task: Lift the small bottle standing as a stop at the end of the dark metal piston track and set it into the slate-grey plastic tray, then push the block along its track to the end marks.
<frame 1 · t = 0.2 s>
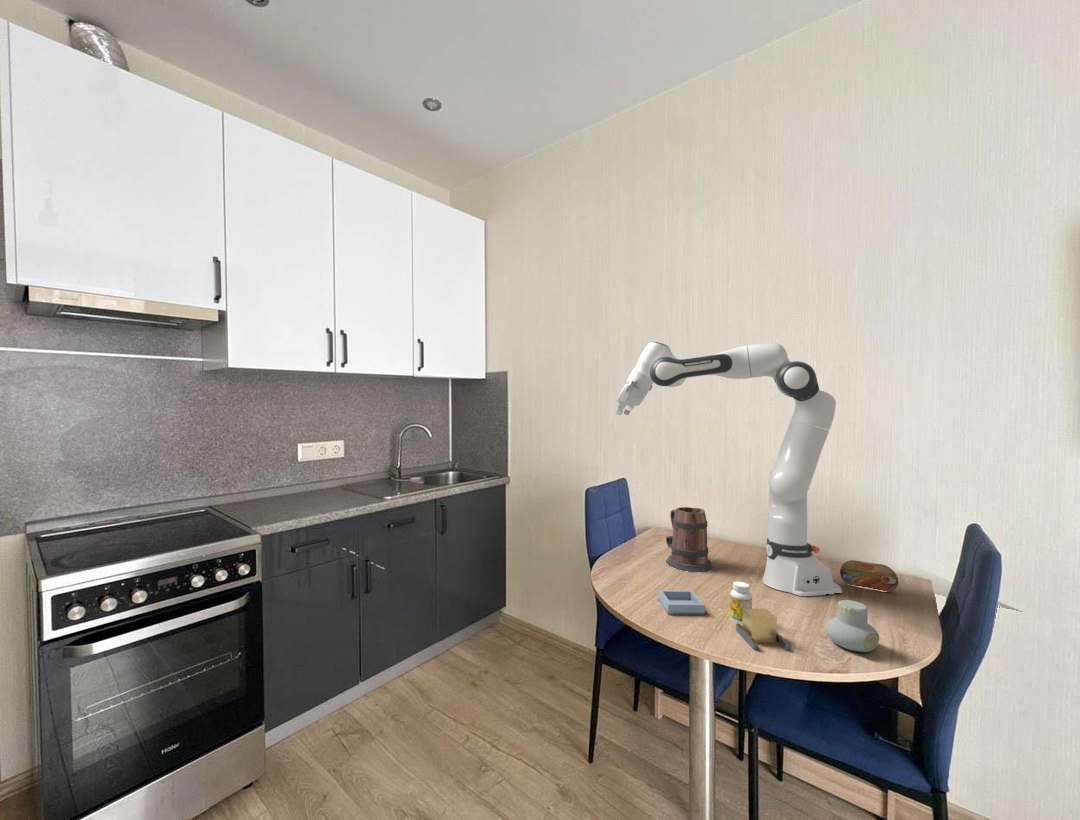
hand: (622, 414, 174), 54 cm above the table, tool tilted 30°, fingers open, 8 cm apart
air freshener: (851, 646, 110), on the table
tin: (867, 589, 146), on the table
tray: (680, 607, 130), on the table
block: (759, 625, 113), point 3 cm above the table, slide at 0.0 cm
tankard: (684, 561, 170), on the table
supplement bottle: (740, 620, 123), on the table
piston track: (758, 638, 113), on the table
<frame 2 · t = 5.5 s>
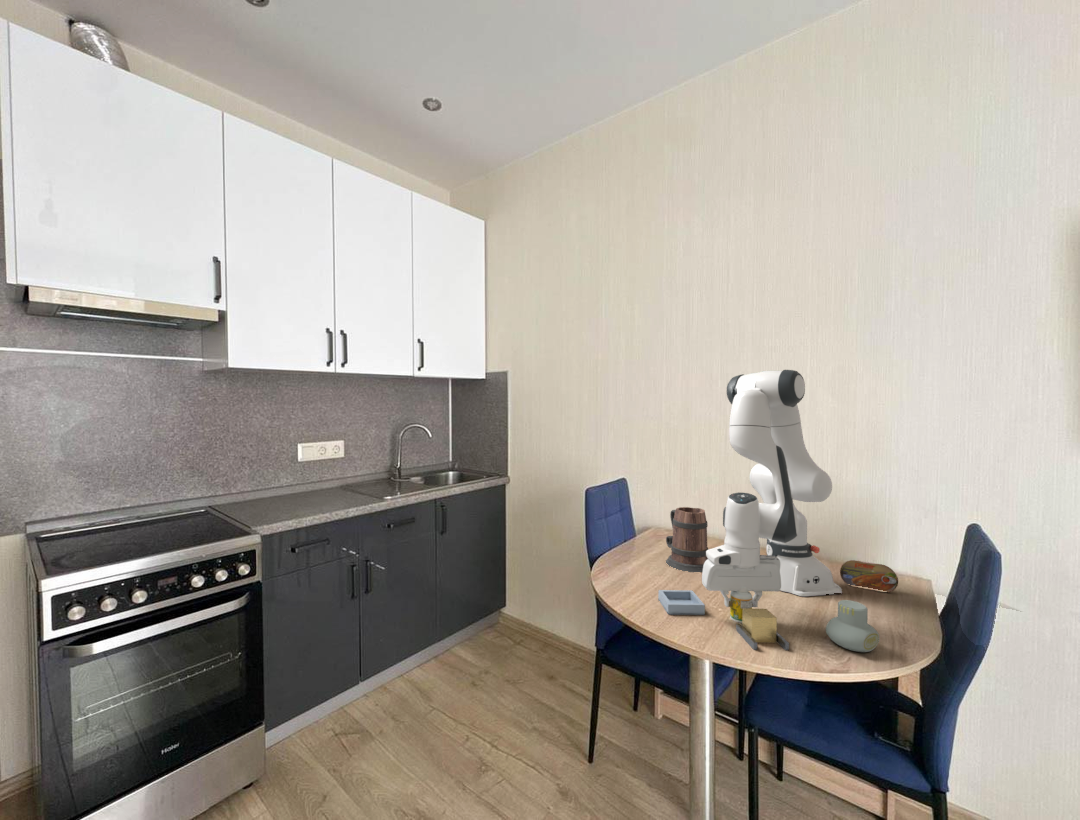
hand: (740, 606, 123), 4 cm above the table, tool pointing down, fingers closed on supplement bottle, 5 cm apart
supplement bottle: (740, 620, 123), on the table, touching gripper
everything else where it was.
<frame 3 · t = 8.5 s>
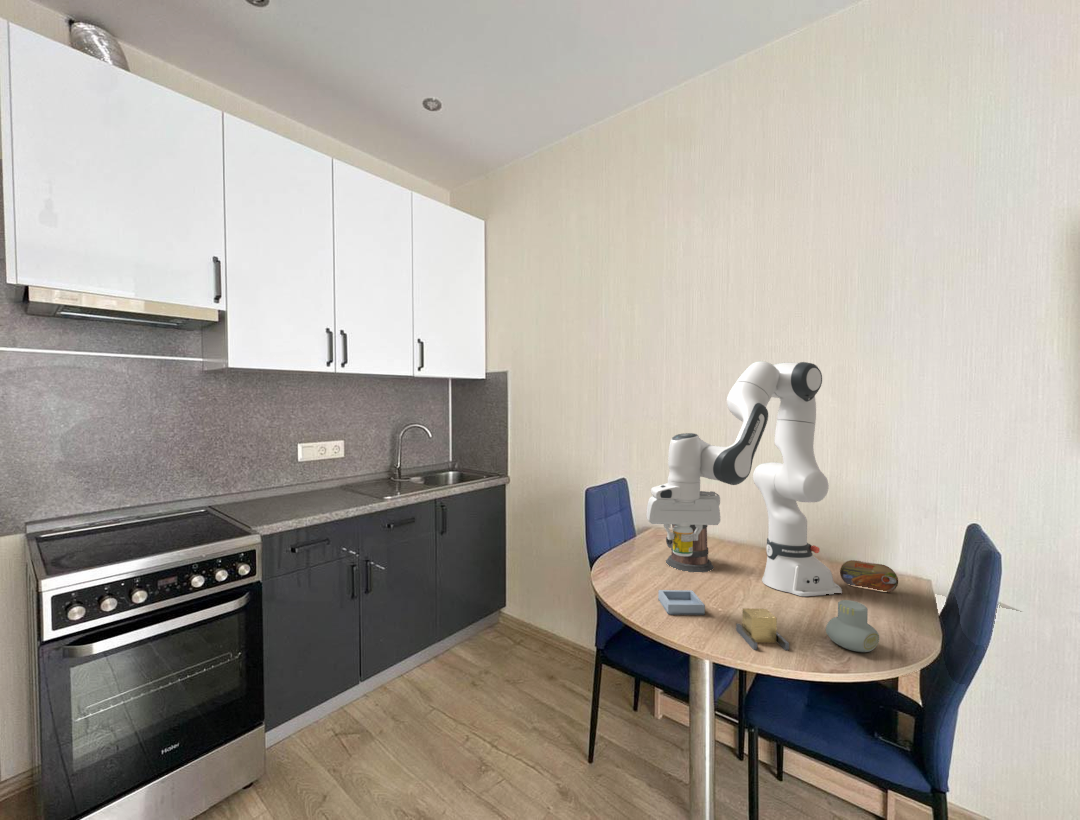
hand: (682, 539, 130), 19 cm above the table, tool pointing down, fingers closed on supplement bottle, 5 cm apart
supplement bottle: (682, 554, 130), point 15 cm above the table, touching gripper
everything else where it was.
when the fingers open (6 cm above the table, at t = 11.5 s): supplement bottle stays where it is, resting on tray.
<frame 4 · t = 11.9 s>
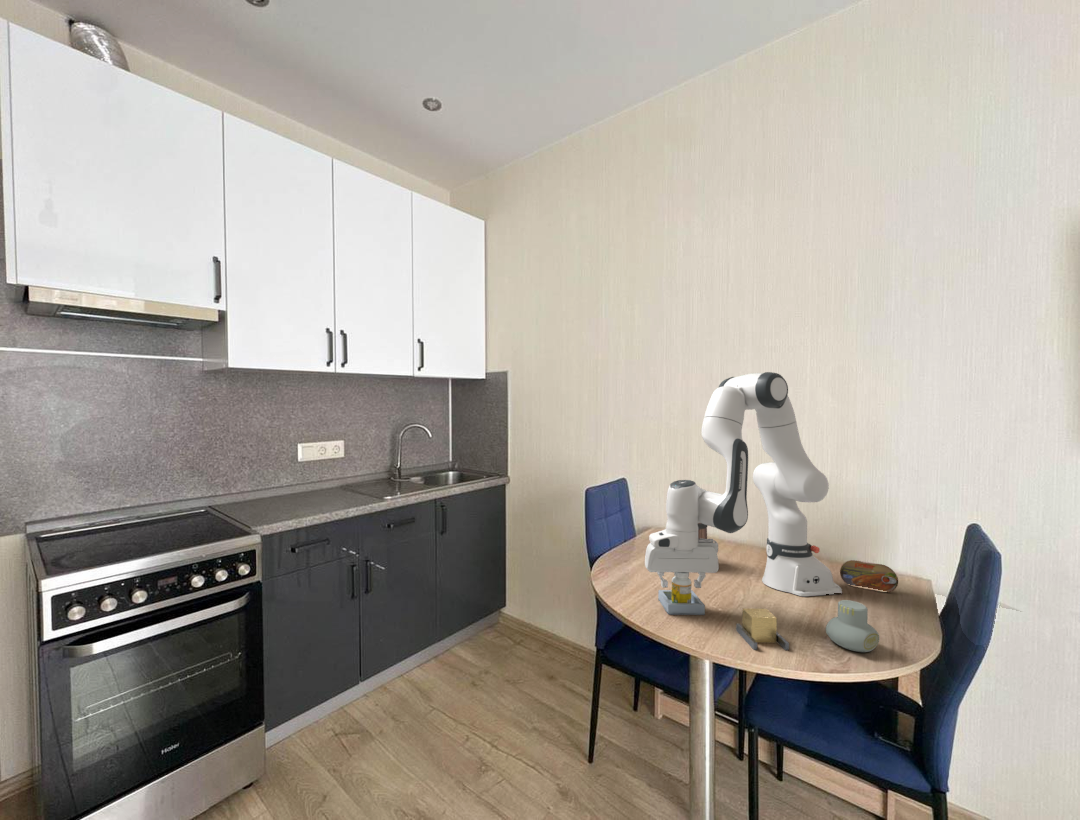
hand: (681, 587, 130), 6 cm above the table, tool pointing down, fingers open, 8 cm apart
supplement bottle: (681, 605, 130), point 1 cm above the table, touching tray
everything else where it was.
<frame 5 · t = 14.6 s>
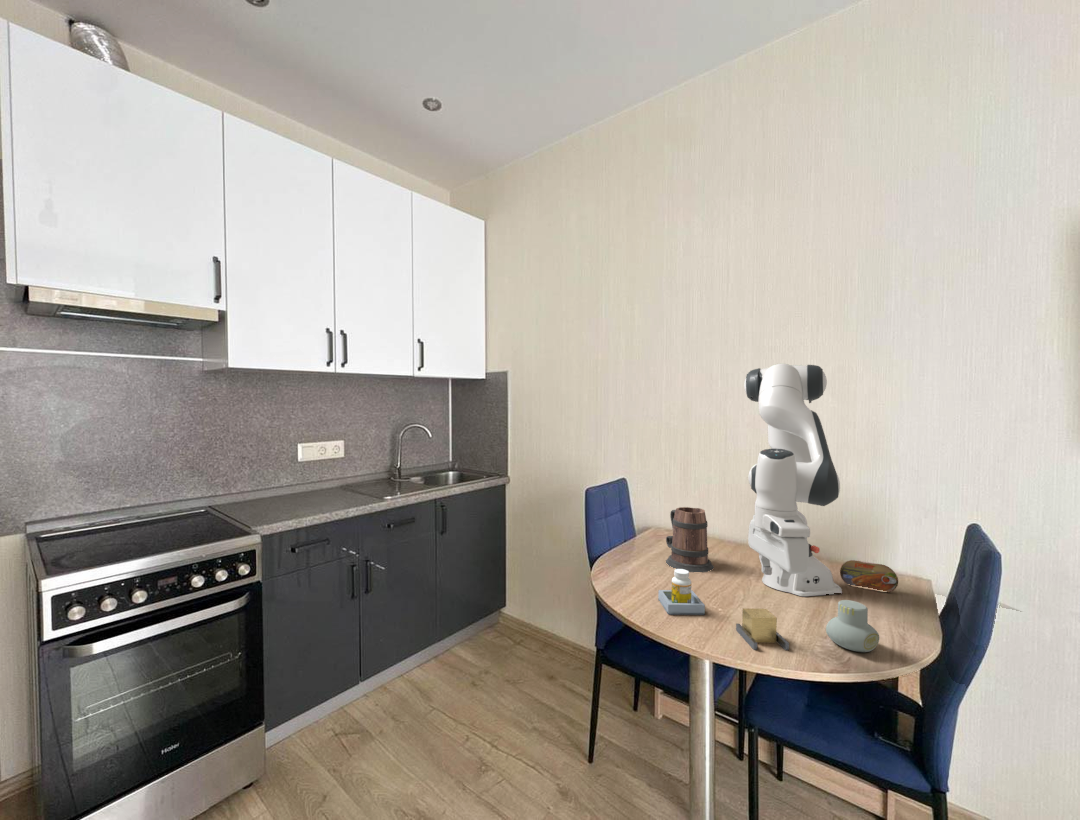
hand: (774, 579, 106), 17 cm above the table, tool pointing down, fingers open, 6 cm apart
nothing on the table moved.
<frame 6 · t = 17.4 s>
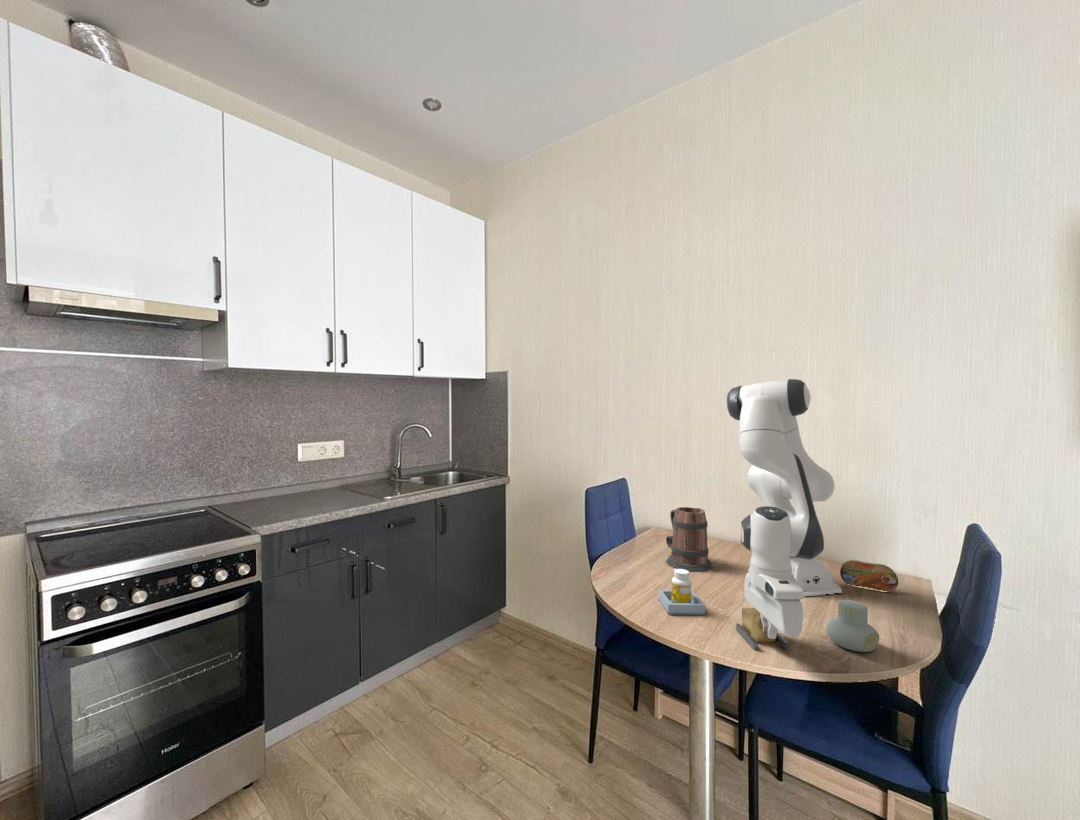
hand: (769, 636, 108), 3 cm above the table, tool pointing down, fingers closed
block: (758, 624, 113), point 3 cm above the table, slide at 0.3 cm, touching gripper
everything else where it was.
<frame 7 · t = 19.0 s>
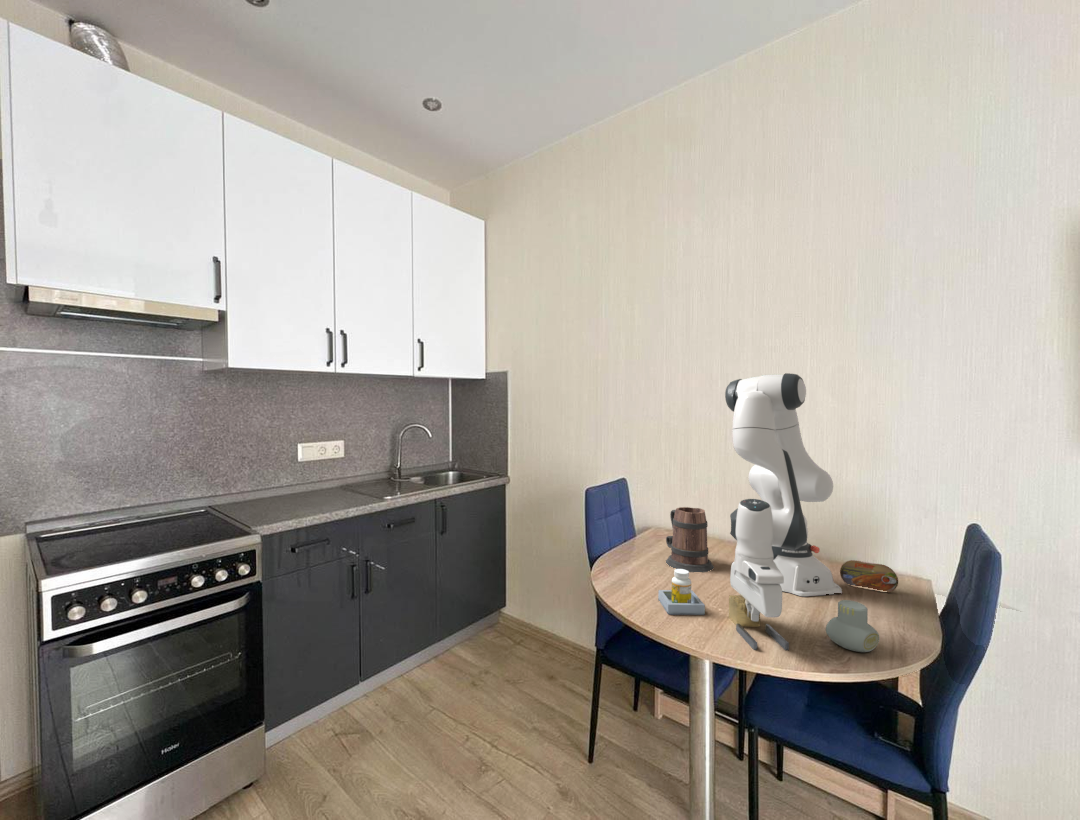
hand: (753, 619, 117), 3 cm above the table, tool pointing down, fingers closed
block: (744, 610, 121), point 3 cm above the table, slide at 8.1 cm, touching gripper
everything else where it was.
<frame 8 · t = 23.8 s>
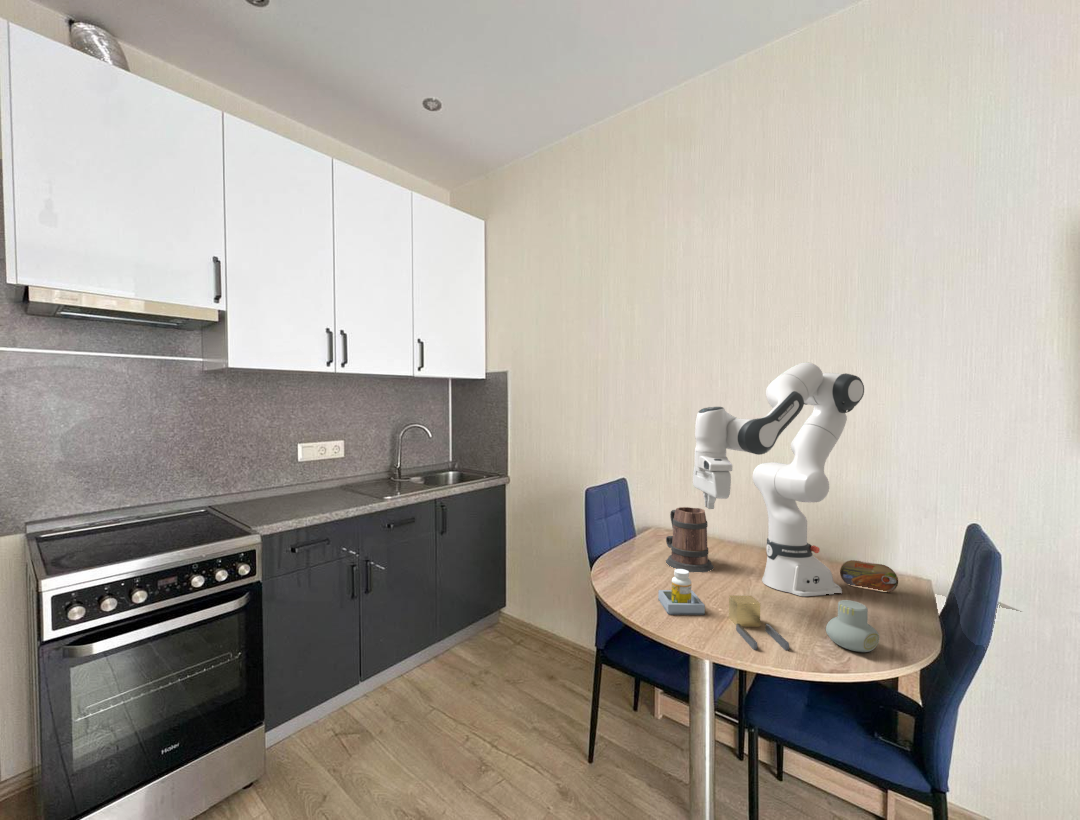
hand: (709, 508, 136), 27 cm above the table, tool pointing down, fingers closed
block: (744, 610, 121), point 3 cm above the table, slide at 8.0 cm
everything else where it was.
at the end: block slide at 8.0 cm; supplement bottle 0.1 cm off-centre on the tray, point 0.6 cm above the tray's base; the gripper is holding nothing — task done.
